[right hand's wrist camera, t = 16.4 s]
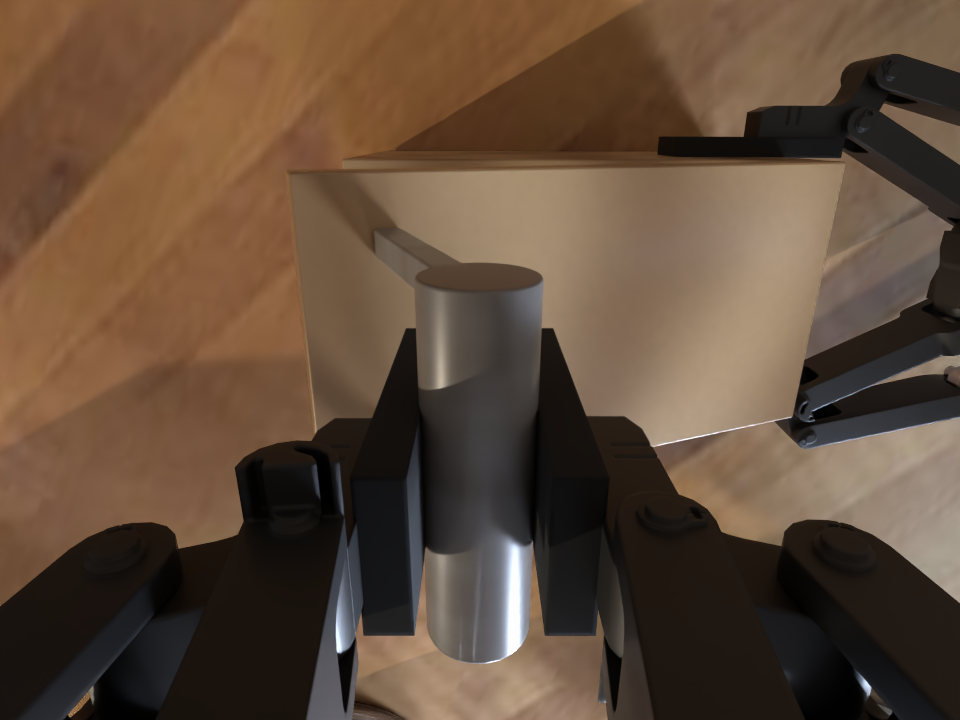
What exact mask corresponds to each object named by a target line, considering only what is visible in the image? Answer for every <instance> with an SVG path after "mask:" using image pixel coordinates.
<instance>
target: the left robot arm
mask: <svg viewBox="0 0 960 720" xmlns="http://www.w3.org/2000/svg"><path fill="white" fill-rule="evenodd" d="M883 103H885V104H888V105H892V106H895V107H898V108H902V109H905V110H908V111H911V112H915V113H918V114H921V115H925V116H928V117H931V118H935V119H938V120H941V121H945V122H948V123H951V124H954V125H958V126H960V73H958V72H955V71H952V70H949V69H946V68H942V67H939V66H936V65H933V64H930V63H926V62H923V61H920V60H917V59H913V58H910V57H907V56H904V55H901V54H891V55H886V56H881V57H876V58H871V59H866V60H861V61H856V62H853V63H851V64H849V65H848V66H847V67H846V68H845V69H844V71H843V73H842V75H841V88H840V90H839V91H838V93H837V95H836V96H835V98H834V99H833V100H832V101H831V102H830V103H828V104H827V105H825V106H769V107H760V108H757V109H755V110H752V111H750V112H747V118H746V124H745V131H744V137H659V144H658V153H657V155H664V156H672V157H786V158H841V155H842V151H844V152H845V153H847V154H848V155H850V156H851V157H853V158H854V159H856V160H858V161H859V162H861V163H862V164H864V165H865V166H867V167H868V168H870V169H871V170H873V171H875V172H876V173H878V174H879V175H881V176H882V177H884V178H885V179H887V180H889V181H890V182H892V183H893V184H895V185H896V186H898V187H899V188H901V189H902V190H904V191H906V192H907V193H909V194H910V195H912V196H913V197H915V198H916V199H918V200H919V201H921V202H923V203H924V204H926V205H927V206H928V207H929V208H928V209H929V210H930V211H931V212H932V213H934V214H935V215H937V216H939V217H940V218H942V219H943V220H945V221H946V222H948V223H949V224H951V225H953V226H954V227H953V228H952V230H951V231H944V235H943V239H942V242H941V246H940V265H939V267H938V269H937V271H936V273H935V275H934V276H933V278H932V280H931V282H930V286H929V289H928V293H927V296H926V298H928V299H926V300H924V301H922V302H920V303H917V304H915V305H913V306H911V307H909V308H906V309H904V310H903V311H902V312H901V313H900V317H899V318H897V319H895V320H893V321H891V322H888V323H886V324H884V325H882V326H879V327H877V328H875V329H873V330H870V331H868V332H866V333H864V334H861V335H859V336H857V337H855V338H853V339H850V340H848V341H846V342H844V343H841V344H839V345H837V346H835V347H832V348H830V349H828V350H826V351H823V352H821V353H819V354H817V355H814V356H812V357H810V358H808V359H805V360H804V364H803V369H802V373H801V378H800V383H799V388H798V392H797V397H796V402H795V407H794V411H793V416H792V417H791V418H786V419H782V420H777V421H775V422H776V423H777V424H778V425H779V426H780V428H781V429H782V430H783V431H784V432H785V433H786V434H787V435H788V436H789V437H790V438H791V439H792V440H793V441H794V442H796V443H797V444H798V445H799V446H800V447H801V448H804V449H811V448H815V447H820V446H825V445H830V444H835V443H839V442H844V441H849V440H854V439H859V438H863V437H868V436H873V435H878V434H883V433H887V432H892V431H897V430H902V429H907V428H911V427H916V426H921V425H926V424H931V423H935V422H940V421H945V420H950V419H955V418H959V417H960V366H959V367H954V366H949V367H947V368H946V369H945V370H944V375H938V374H932V375H922V376H916V377H911V378H907V379H902V380H897V381H893V382H888V383H883V384H879V385H875V384H877V383H879V382H882V381H884V380H886V379H889V378H891V377H893V376H896V375H898V374H900V373H903V372H905V371H907V370H910V369H912V368H914V367H917V366H919V365H921V364H923V363H926V362H928V361H930V360H933V359H935V358H937V357H940V356H957V355H960V165H959V164H957V163H956V162H954V161H953V160H951V159H950V158H948V157H947V156H945V155H944V154H942V153H941V152H939V151H938V150H936V149H935V148H933V147H932V146H930V145H929V144H927V143H926V142H924V141H923V140H921V139H920V138H918V137H917V136H915V135H914V134H912V133H911V132H909V131H908V130H906V129H905V128H903V127H902V126H900V125H899V124H897V123H896V122H894V121H893V120H891V119H890V118H888V117H887V116H885V115H884V114H882V113H881V112H879V110H880V108H881V107H882V105H883ZM872 385H874V386H872Z"/></svg>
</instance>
